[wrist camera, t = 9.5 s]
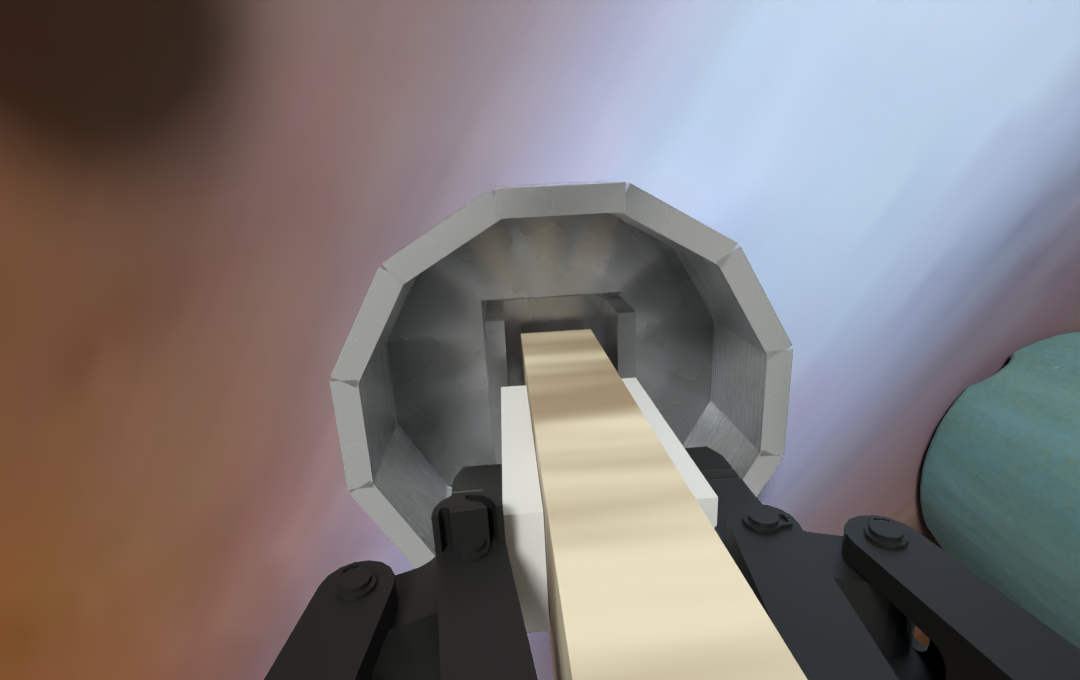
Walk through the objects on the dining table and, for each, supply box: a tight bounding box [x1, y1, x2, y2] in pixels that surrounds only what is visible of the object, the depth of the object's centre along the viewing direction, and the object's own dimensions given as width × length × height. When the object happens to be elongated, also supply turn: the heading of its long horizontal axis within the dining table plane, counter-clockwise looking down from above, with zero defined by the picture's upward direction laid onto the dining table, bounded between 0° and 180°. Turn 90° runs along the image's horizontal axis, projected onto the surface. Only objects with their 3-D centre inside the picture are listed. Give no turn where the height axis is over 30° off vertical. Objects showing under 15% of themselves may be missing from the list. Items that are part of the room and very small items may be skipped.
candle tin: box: [330, 181, 793, 568], centre depth 20 cm, size 14×14×5 cm
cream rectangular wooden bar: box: [521, 329, 808, 680], centre depth 13 cm, size 4×2×15 cm, turn 3°
